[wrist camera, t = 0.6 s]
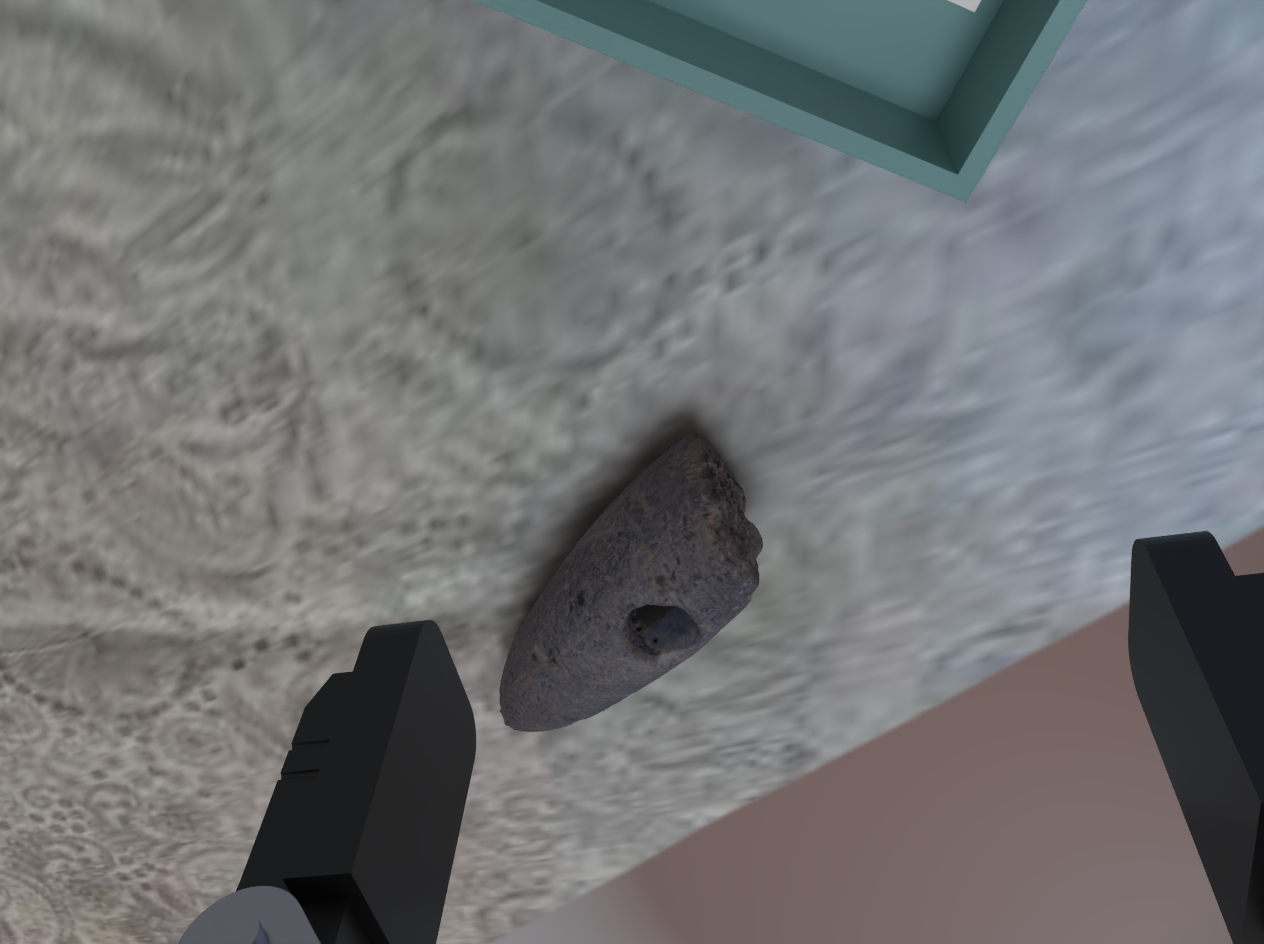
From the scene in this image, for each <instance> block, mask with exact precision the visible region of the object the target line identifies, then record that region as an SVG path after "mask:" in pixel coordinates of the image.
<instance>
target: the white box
mask: <svg viewBox="0 0 1264 944" xmlns="http://www.w3.org/2000/svg"><path fill="white" fill-rule="evenodd" d="M948 1H950V2H952V3H955V4H957V5H959V6H961V7H964V8H966V9H968V10H970V11H973V12H975V11H976V9H977V7H978V5H979V3H980V2H981V0H948Z"/></svg>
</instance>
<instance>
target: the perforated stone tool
mask: <svg viewBox="0 0 1264 944" xmlns="http://www.w3.org/2000/svg"><path fill="white" fill-rule="evenodd" d="M745 503H746V498H745V496H744V491H743V489H742V488H741V487H740V485H739V484H738V483H737V482H736V481H735V479H734V477H733V476H732V475H731V473H730V472H729V470H728V469H727V468H726V467H725V465H724V464H723V462H722V460H721V459H720V457H719V455H718V454H717V453H716V452H715V451H714V450H713V449H712V448H711V447H710V446H709V444H708V443H707V442H706V441H705V440H704V439H703V438H701V437H700V436H699V435H698V434H697V433H695V432H694V431H692V432H690V433H689V434H687V435H686V436H685V437H683V438H682V439H681V440H680V441H678V442H677V443H675V444H674V445H672V446H671V447H670V448H669V449H668V450H666V451H665V452H664V453H663V454H662V455H661V456H659V457H658V458H657V459H656V460H655V461H654V462H653V463H651V464H650V465H649V466H648V467H647V468H646V469H645V470H644V471H642V472H641V473H640V474H639V475H638V476H637V477H636V478H635V479H634V480H633V481H632V482H631V483H630V484H629V485H628V486H627V487H626V488H625V489H624V490H623V491H622V492H621V493H620V494H619V495H618V496H617V498H616V499H615V500H614V501H613V502H612V503H611V504H610V505H609V506H608V507H607V508H606V509H605V510H604V511H603V513H602V514H601V515H600V516H599V517H598V518H597V519H596V520H595V522H594V523H593V524H592V525H591V527H590V528H589V529H588V530H587V531H586V533H585V534H584V535H583V536H582V537H581V539H580V540H579V541H578V542H577V544H576V545H575V546H574V548H573V549H572V550H571V552H570V553H569V554H568V556H567V557H566V559H565V560H564V561H563V563H562V564H561V566H560V567H559V568H558V570H557V571H556V573H555V574H554V576H553V577H552V579H551V580H550V581H549V583H548V584H547V586H546V587H545V589H544V590H543V591H542V593H541V594H540V596H539V597H538V599H537V601H536V602H535V604H534V606H533V607H532V609H531V610H530V612H529V613H528V615H527V616H526V618H525V620H524V621H523V623H522V625H521V627H520V628H519V630H518V632H517V634H516V636H515V639H514V641H513V643H512V646H511V648H510V651H509V654H508V657H507V660H506V663H505V667H504V670H503V674H502V679H501V686H500V690H499V691H500V706H501V710H500V712H501V713H502V716H503V718H504V722H505V725H506V726H508V725H509V726H510V727H511V728H513V729H514V730H519V731H526V732H538V731H548V730H553V729H558V728H562V727H565V726H568V725H571V724H573V723H574V722H576V721H579V720H582V719H586V718H589V717H591V716H594V715H596V714H598V713H599V712H601V711H604V710H605V709H607V708H609V707H610V706H612V705H614V704H616V703H618V702H620V701H621V700H623V699H624V698H626V697H627V696H629V695H630V694H632V693H634V692H636V691H638V690H640V689H641V688H643V687H645V686H646V685H648V684H649V683H651V682H653V681H654V680H656V679H658V678H659V677H661V676H662V675H664V674H665V673H667V672H668V671H670V670H671V669H673V668H674V667H676V666H677V665H679V664H680V663H682V662H683V661H685V660H686V659H688V658H689V657H691V656H692V655H694V654H695V653H696V652H697V651H699V650H700V649H701V648H702V647H703V646H704V645H705V644H707V643H708V642H709V641H710V640H711V639H712V638H713V637H714V636H715V635H716V634H717V633H718V632H719V631H720V630H721V629H722V628H723V627H725V626H726V625H727V624H728V623H729V622H730V621H731V620H732V619H733V618H734V617H735V616H737V615H738V614H739V613H740V612H741V611H742V610H743V609H744V608H745V607H746V606H747V604H748V603H749V602H750V601H751V595H752V594H753V592H754V591H755V589H756V588H757V587H758V585H759V573H758V564H757V561H756V558H757V556H758V555H759V553H760V552H761V550H762V547H763V542H762V537H761V535H760V533H759V531H758V529H757V528H756V527H755V525H754V524H752V523H751V522H750V521H748V519H747V518H746V517H745V515H744V511H745Z"/></svg>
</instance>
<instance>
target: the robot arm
mask: <svg viewBox="0 0 1264 944" xmlns="http://www.w3.org/2000/svg"><path fill="white" fill-rule="evenodd" d="M1129 608H1130V610H1129V631H1128V647H1129V658H1130V664H1131V671H1132V675H1133V680H1134V684H1135V688H1136V691H1137V694H1138V697H1139V700H1140V702H1141V705H1142V708H1143V710H1144V712H1145V715H1146V718H1147V720H1148V723H1149V726H1150V728H1151V731H1152V734H1153V736H1154V739H1155V741H1156V744H1157V746H1158V749H1159V752H1160V754H1161V757H1162V760H1163V762H1164V765H1165V767H1166V770H1167V773H1168V775H1169V778H1170V780H1171V783H1172V786H1173V788H1174V791H1175V793H1176V796H1177V799H1178V801H1179V804H1180V806H1181V809H1182V812H1183V814H1184V817H1185V819H1186V822H1187V824H1188V827H1189V830H1190V832H1191V835H1192V838H1193V840H1194V843H1195V845H1196V848H1197V851H1198V853H1199V856H1200V858H1201V861H1202V863H1203V866H1204V869H1205V871H1206V874H1207V877H1208V879H1209V882H1210V884H1211V887H1212V889H1213V892H1214V895H1215V897H1216V900H1217V903H1218V905H1219V908H1220V910H1221V913H1222V916H1223V918H1224V921H1225V923H1226V926H1227V929H1228V931H1229V934H1230V936H1231V939H1232V941H1233V944H1264V573H1259V574H1250V575H1240V576H1235V575H1234V573H1233V571H1232V569H1231V567H1230V566H1229V564H1228V562H1227V560H1226V558H1225V556H1224V554H1223V552H1222V550H1221V549H1220V547H1219V545H1218V543H1217V541H1216V539H1215V538H1214V536H1213V535H1212V534H1211V533H1210V532H1208V531H1202V532H1194V533H1185V534H1176V535H1168V536H1159V537H1151V538H1142V539H1137V540H1135V542H1134V544H1133V548H1132V559H1131V583H1130V607H1129ZM475 752H476V729H475V721H474V716H473V711H472V708H471V705H470V702H469V700H468V697H467V695H466V692H465V690H464V687H463V685H462V682H461V680H460V677H459V675H458V672H457V670H456V667H455V665H454V663H453V660H452V658H451V655H450V653H449V650H448V648H447V645H446V643H445V640H444V638H443V635H442V633H441V631H440V629H439V627H438V625H437V624H436V623H435V622H434V621H432V620H424V621H416V622H407V623H398V624H390V625H381V626H374V627H371V628H370V629H369V630H368V631H367V633H366V635H365V637H364V640H363V643H362V646H361V649H360V652H359V655H358V658H357V661H356V664H355V667H354V670H353V672H345V673H336V674H332V676H331V677H330V678H329V679H328V680H327V682H326V683H325V684H324V685H323V686H322V688H321V689H320V690H319V691H318V692H317V694H316V695H315V696H314V697H313V698H312V700H311V701H310V702H309V703H308V704H307V706H306V707H305V709H304V711H303V714H302V717H301V720H300V722H299V725H298V728H297V730H296V733H295V736H294V738H293V741H292V750H291V751H289V752H288V754H287V757H286V760H285V762H284V765H283V768H282V770H281V780H278V781H277V784H276V787H275V789H274V792H273V795H272V797H271V800H270V803H269V805H268V808H267V811H266V813H265V816H264V819H263V821H262V824H261V827H260V829H259V832H258V835H257V837H256V840H255V843H254V845H253V848H252V851H251V853H250V856H249V859H248V862H247V864H246V867H245V870H244V872H243V875H242V878H241V880H240V883H239V885H238V888H237V890H236V892H234V893H231V894H229V895H227V896H225V897H223V898H222V899H220V900H218V901H217V902H215V903H214V904H212V905H211V906H209V907H208V908H207V909H206V910H205V911H203V912H202V913H201V914H200V915H199V916H198V917H197V918H196V919H195V920H194V921H193V922H192V923H191V925H190V926H189V927H188V928H187V930H186V931H185V933H184V934H183V935H182V937H181V939H180V941H179V943H178V944H436V941H437V936H438V931H439V926H440V922H441V917H442V912H443V907H444V903H445V898H446V893H447V888H448V884H449V879H450V874H451V869H452V865H453V860H454V855H455V850H456V845H457V841H458V836H459V831H460V826H461V822H462V817H463V812H464V807H465V803H466V798H467V793H468V788H469V784H470V779H471V774H472V769H473V764H474V759H475Z"/></svg>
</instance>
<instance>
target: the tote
mask: <svg viewBox="0 0 1264 944" xmlns="http://www.w3.org/2000/svg"><path fill="white" fill-rule="evenodd" d="M473 1H476V2H478V3H481V4H483V5H486V6H488V7H490V8H493V9H495V10H498V11H500V12H503V13H505V14H508V15H510V16H512V17H515V18H517V19H520V20H522V21H525V22H527V23H529V24H532V25H534V26H537V27H539V28H542V29H544V30H547V31H549V32H551V33H554V34H556V35H559V36H561V37H564V38H566V39H569V40H571V41H573V42H576V43H578V44H581V45H583V46H586V47H588V48H590V49H593V50H595V51H598V52H600V53H603V54H605V55H608V56H610V57H612V58H615V59H617V60H620V61H622V62H625V63H627V64H629V65H632V66H634V67H637V68H639V69H642V70H644V71H647V72H649V73H651V74H654V75H656V76H659V77H661V78H664V79H666V80H669V81H671V82H673V83H676V84H678V85H681V86H683V87H686V88H688V89H690V90H693V91H695V92H698V93H700V94H703V95H705V96H708V97H710V98H712V99H715V100H717V101H720V102H722V103H725V104H727V105H730V106H732V107H734V108H737V109H739V110H742V111H744V112H747V113H749V114H751V115H754V116H756V117H759V118H761V119H764V120H766V121H769V122H771V123H773V124H776V125H778V126H781V127H783V128H786V129H788V130H791V131H793V132H795V133H798V134H800V135H803V136H805V137H808V138H810V139H812V140H815V141H817V142H820V143H822V144H825V145H827V146H830V147H832V148H834V149H837V150H839V151H842V152H844V153H847V154H849V155H851V156H854V157H856V158H859V159H861V160H864V161H866V162H869V163H871V164H873V165H876V166H878V167H881V168H883V169H886V170H888V171H891V172H893V173H895V174H898V175H900V176H903V177H905V178H908V179H910V180H912V181H915V182H917V183H920V184H922V185H925V186H927V187H930V188H932V189H934V190H937V191H939V192H942V193H944V194H947V195H949V196H952V197H954V198H956V199H959V200H961V201H964V202H967V200H968V199H969V197H970V195H971V194H972V192H973V190H974V188H975V187H976V185H977V183H978V182H979V180H980V178H981V177H982V175H983V173H984V172H985V170H986V168H987V167H988V165H989V163H990V162H991V160H992V158H993V157H994V155H995V153H996V152H997V150H998V148H999V147H1000V145H1001V143H1002V142H1003V140H1004V138H1005V137H1006V135H1007V133H1008V132H1009V130H1010V128H1011V127H1012V125H1013V123H1014V122H1015V120H1016V118H1017V117H1018V115H1019V113H1020V112H1021V110H1022V108H1023V107H1024V105H1025V103H1026V102H1027V100H1028V98H1029V97H1030V95H1031V93H1032V92H1033V90H1034V88H1035V87H1036V85H1037V83H1038V82H1039V80H1040V78H1041V77H1042V75H1043V73H1044V72H1045V70H1046V68H1047V67H1048V65H1049V63H1050V61H1051V60H1052V58H1053V56H1054V55H1055V53H1056V51H1057V50H1058V48H1059V46H1060V45H1061V43H1062V41H1063V40H1064V38H1065V36H1066V35H1067V33H1068V31H1069V30H1070V28H1071V26H1072V25H1073V23H1074V21H1075V20H1076V18H1077V16H1078V15H1079V13H1080V11H1081V10H1082V8H1083V6H1084V5H1085V3H1086V1H1087V0H981V2H980V3H979V5H978V7H977V9H976V11H975V12H973V11H970V10H968V9H966V8H964V7H961V6H959V5H957V4H955V3H952V2H950V1H948V0H473Z"/></svg>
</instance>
